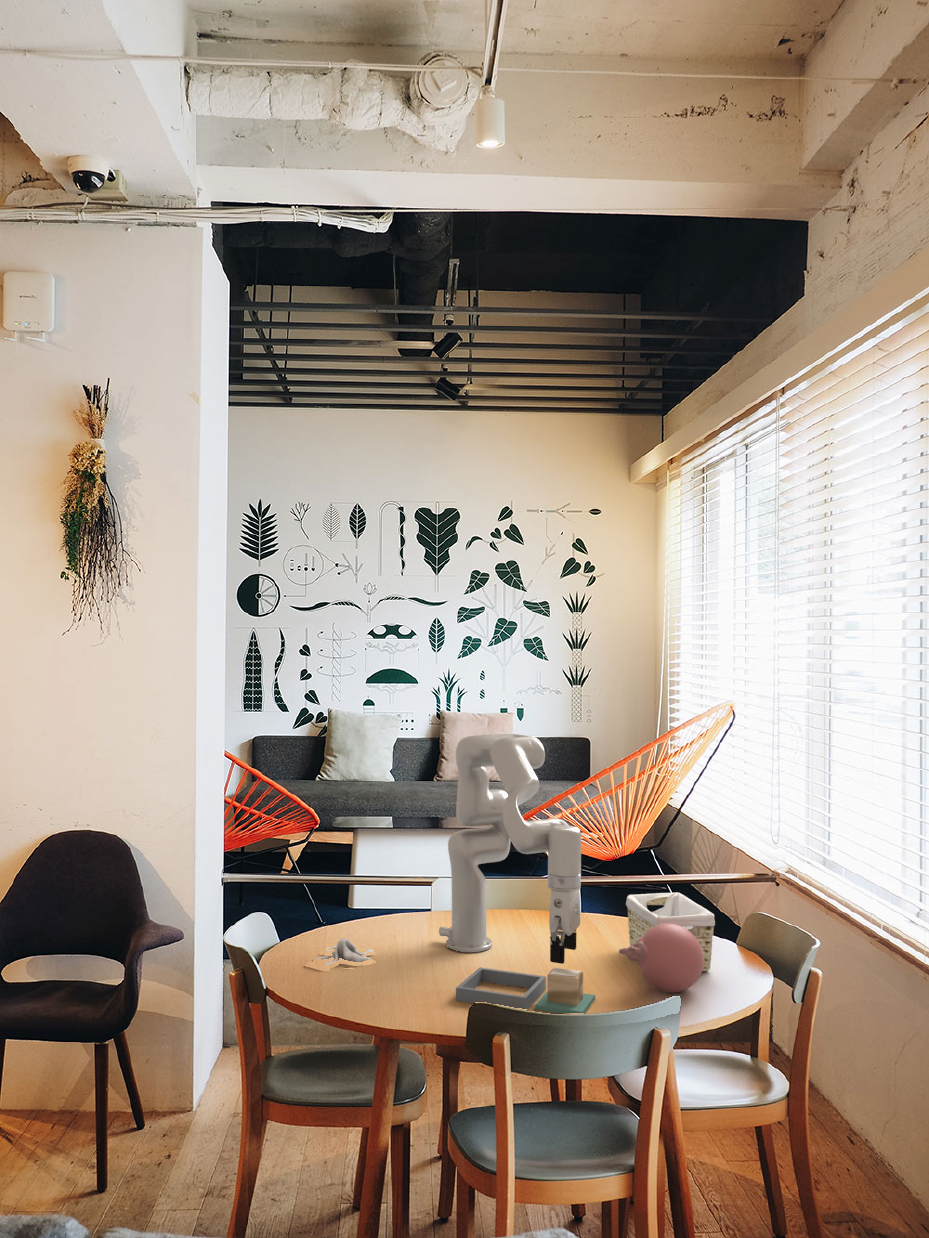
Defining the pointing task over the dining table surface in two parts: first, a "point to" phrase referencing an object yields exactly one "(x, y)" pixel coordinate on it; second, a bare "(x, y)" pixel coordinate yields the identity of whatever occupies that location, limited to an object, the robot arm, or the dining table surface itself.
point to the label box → (565, 986)
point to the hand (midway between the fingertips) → (563, 955)
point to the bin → (534, 982)
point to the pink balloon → (668, 957)
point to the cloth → (346, 952)
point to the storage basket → (671, 918)
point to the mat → (565, 1005)
